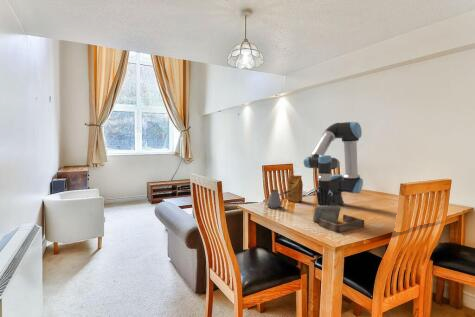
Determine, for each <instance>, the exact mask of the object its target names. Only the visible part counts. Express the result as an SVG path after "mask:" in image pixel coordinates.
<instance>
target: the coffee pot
mask: <svg viewBox="0 0 475 317" xmlns="http://www.w3.org/2000/svg"><path fill="white" fill-rule="evenodd" d="M269 191H270V194H269V196H268V199H267V201H266V206H268V207H269V208H270V207H272V208H271V209H279V208H280V207H282V205H283V203H282V200H281V198H280V196H281V195H284V194H287V193H288V192H290V191H292V190H290V191H287V190H285V191H283V192H281V193H279V192H280V190H278V189H270V190H269ZM292 193H293V191H292ZM278 207H279V208H278Z"/></svg>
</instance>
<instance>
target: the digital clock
mask: <svg viewBox="0 0 475 317" xmlns="http://www.w3.org/2000/svg"><path fill="white" fill-rule="evenodd" d="M341 208H342V207H341V205H339V206H335V205H330V206H320V205H316V206H314V212H313V218H312V221H313V222H314V223H319V219H323V220H325V221H328V222H331V223H334V224H337V225H338V223H337V222H338V220H339V218H340V212H341Z"/></svg>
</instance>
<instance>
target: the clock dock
mask: <svg viewBox="0 0 475 317" xmlns="http://www.w3.org/2000/svg"><path fill="white" fill-rule="evenodd" d="M342 222H343V223H339V224H338V223H337V224H334V223H331V222H328V221H325V220H323V219H319V222H318V227H321V228H323V229H326V230H328V231H331V232H333V233H336V234H339V233H343V232H349V231H353V230H357V229H362V228H364V227H365V220H364V219H362V218H359V217H356V216H355V217H354V216H351V215H348V214H342Z"/></svg>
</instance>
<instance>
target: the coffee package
mask: <svg viewBox="0 0 475 317" xmlns="http://www.w3.org/2000/svg"><path fill="white" fill-rule="evenodd" d="M303 183H304V182H303V179H302V175H293V174H289V177H288V183H287V190H286V191H290V190H292V191H293V193H292V191H290V192H288V193H286V195H287V196H286V198H287V199H286V200H288V201H287V202H292V203H299V202H302V201H303V192H304V191H303V188H304V186H303Z"/></svg>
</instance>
